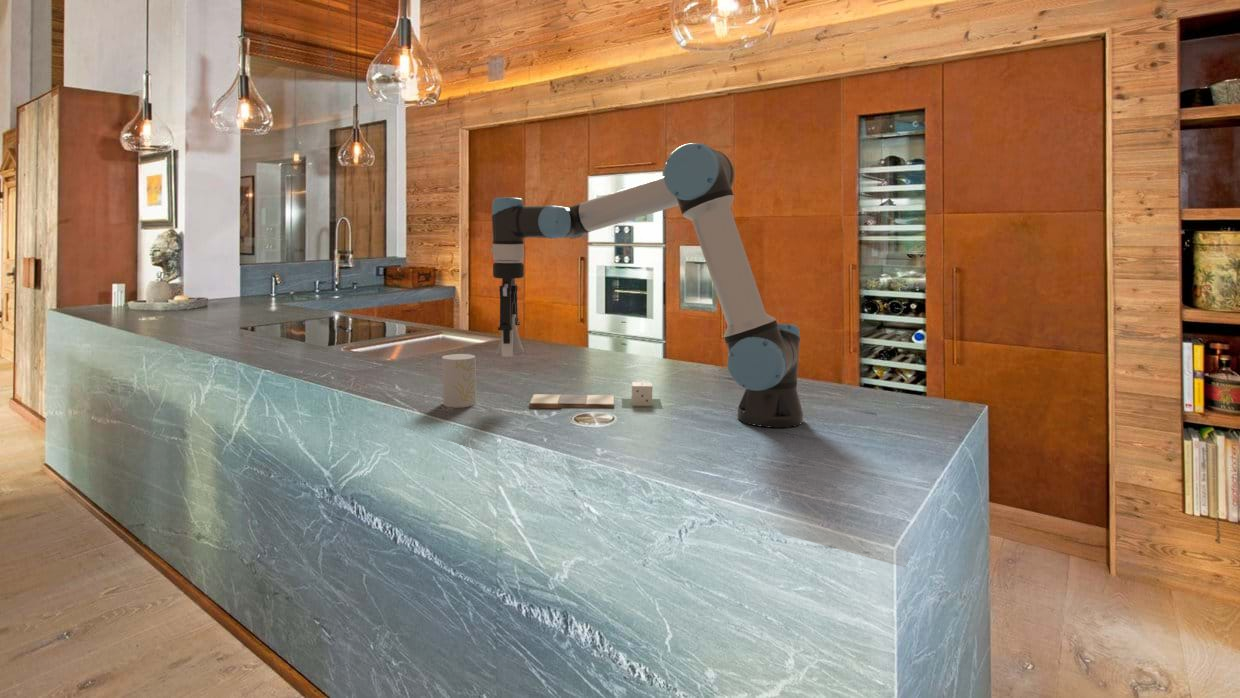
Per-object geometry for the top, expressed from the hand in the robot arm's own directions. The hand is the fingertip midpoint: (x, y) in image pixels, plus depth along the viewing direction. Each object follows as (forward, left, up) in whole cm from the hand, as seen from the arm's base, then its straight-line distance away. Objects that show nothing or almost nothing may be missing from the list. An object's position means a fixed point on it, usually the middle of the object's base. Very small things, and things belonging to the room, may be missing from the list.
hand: (509, 353), depth 175 cm
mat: (-27, -20, -13) cm, 36 cm away
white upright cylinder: (+10, +8, -13) cm, 18 cm away
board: (-13, -9, -13) cm, 20 cm away
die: (-27, -20, -12) cm, 36 cm away
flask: (0, 0, 0) cm, 1 cm away
